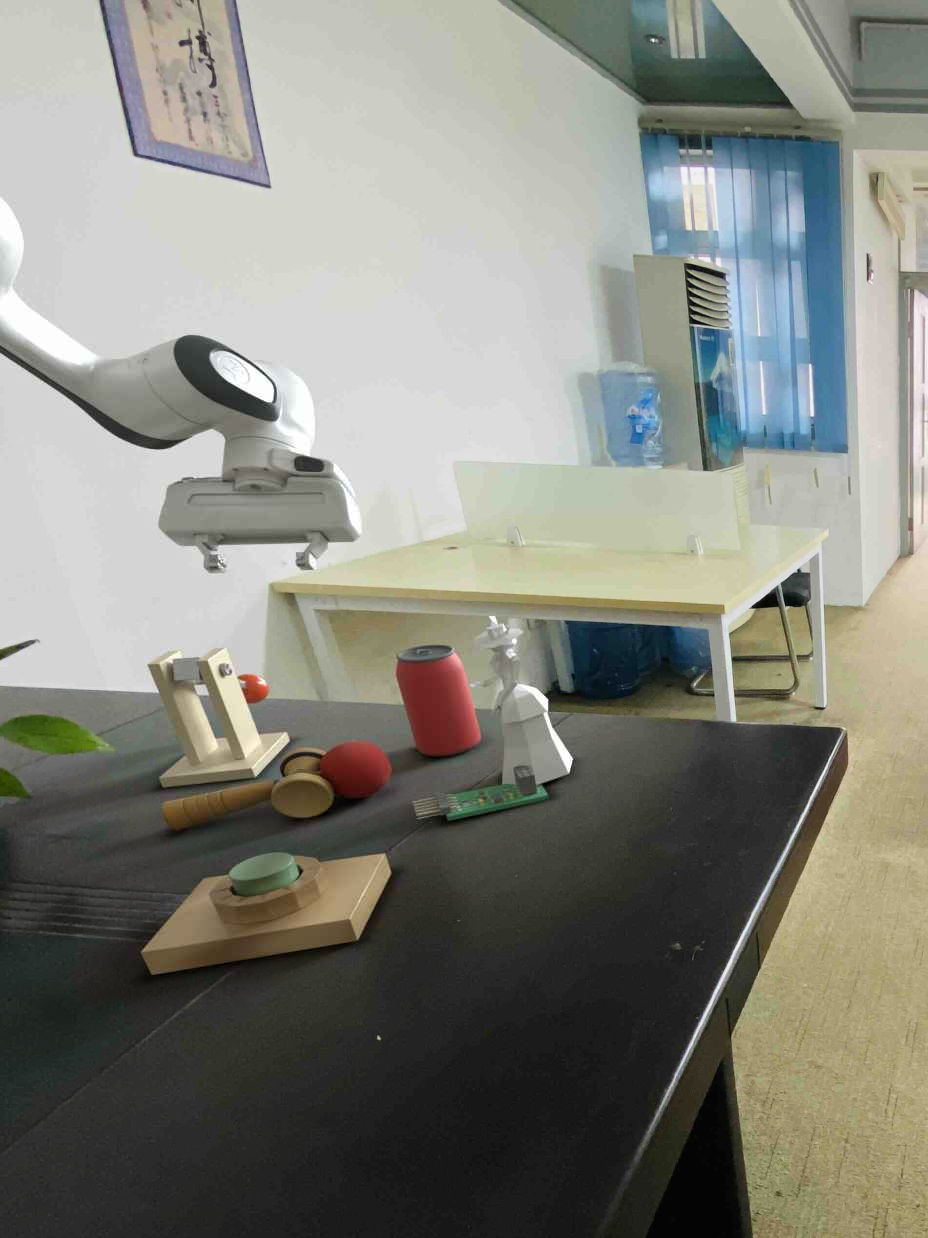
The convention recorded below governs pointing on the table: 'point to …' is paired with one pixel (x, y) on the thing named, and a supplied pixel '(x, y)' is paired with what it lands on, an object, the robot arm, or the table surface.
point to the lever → (190, 675)
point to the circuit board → (485, 797)
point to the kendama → (293, 785)
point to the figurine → (521, 712)
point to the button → (264, 874)
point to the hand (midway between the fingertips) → (260, 569)
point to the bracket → (203, 752)
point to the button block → (270, 915)
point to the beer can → (437, 700)
